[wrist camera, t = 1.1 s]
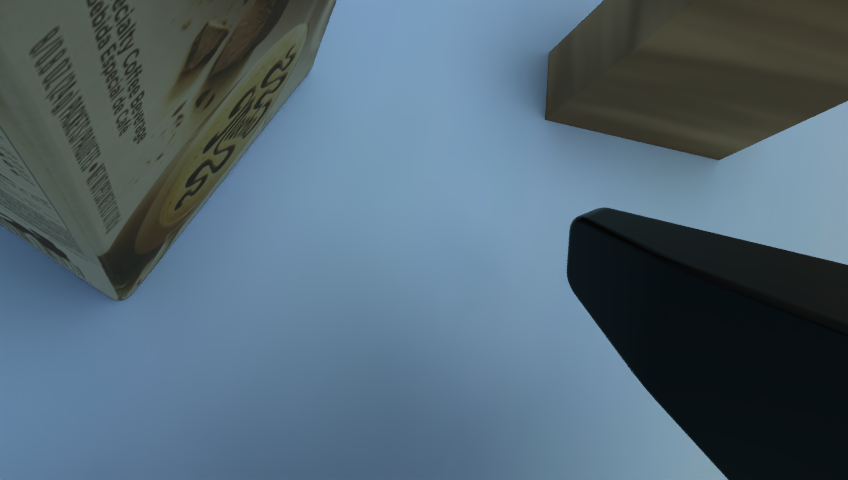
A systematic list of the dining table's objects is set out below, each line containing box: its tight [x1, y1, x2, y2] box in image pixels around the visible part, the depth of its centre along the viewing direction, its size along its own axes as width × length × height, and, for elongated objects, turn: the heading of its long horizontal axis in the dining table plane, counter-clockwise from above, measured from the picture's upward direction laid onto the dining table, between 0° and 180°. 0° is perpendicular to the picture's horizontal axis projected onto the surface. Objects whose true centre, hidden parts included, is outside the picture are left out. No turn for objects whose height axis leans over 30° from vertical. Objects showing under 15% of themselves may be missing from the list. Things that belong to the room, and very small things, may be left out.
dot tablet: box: [545, 0, 848, 160], centre depth 21 cm, size 3×7×12 cm, turn 84°
